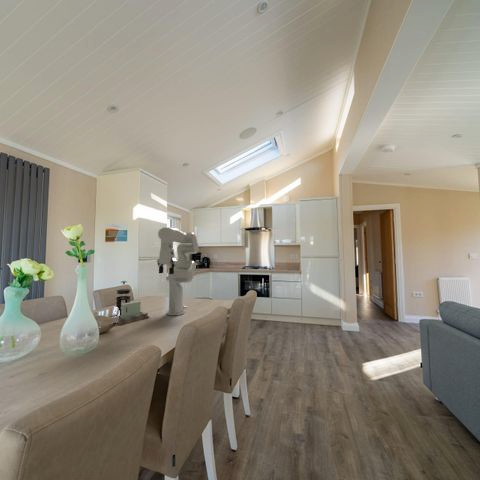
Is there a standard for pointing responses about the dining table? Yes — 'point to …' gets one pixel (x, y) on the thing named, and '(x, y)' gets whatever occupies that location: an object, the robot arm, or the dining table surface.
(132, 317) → the door track
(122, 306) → the door panel
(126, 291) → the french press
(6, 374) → the dining table surface
